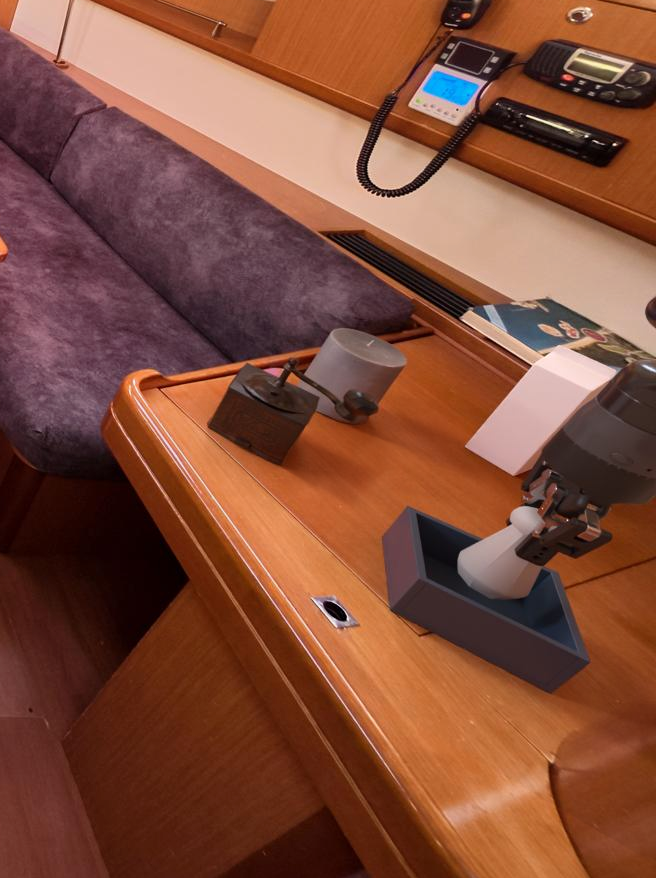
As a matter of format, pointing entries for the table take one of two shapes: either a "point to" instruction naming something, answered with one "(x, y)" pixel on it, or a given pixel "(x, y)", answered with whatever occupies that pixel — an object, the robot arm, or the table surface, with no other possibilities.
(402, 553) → the bin
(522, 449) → the milk
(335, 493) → the table surface
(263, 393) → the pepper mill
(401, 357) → the pillar candle
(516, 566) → the salt shaker
